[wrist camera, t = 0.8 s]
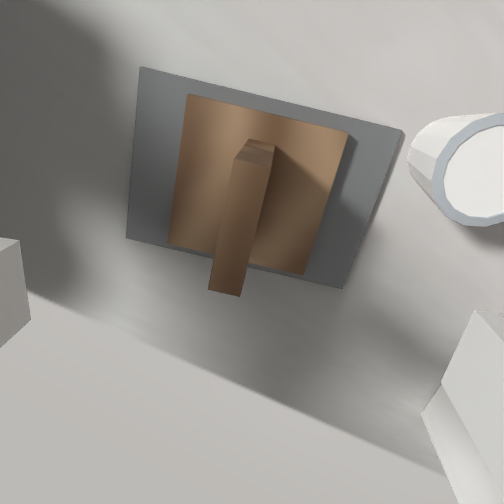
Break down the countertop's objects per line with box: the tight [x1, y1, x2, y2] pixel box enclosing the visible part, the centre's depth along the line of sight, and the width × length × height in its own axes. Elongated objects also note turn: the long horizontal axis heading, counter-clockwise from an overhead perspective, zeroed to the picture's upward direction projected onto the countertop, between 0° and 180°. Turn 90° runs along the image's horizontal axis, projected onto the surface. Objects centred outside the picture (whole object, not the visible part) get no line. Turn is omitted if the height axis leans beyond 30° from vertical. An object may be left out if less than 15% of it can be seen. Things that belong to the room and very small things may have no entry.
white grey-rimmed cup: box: [407, 113, 504, 227], centre depth 25 cm, size 7×7×7 cm
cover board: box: [167, 94, 349, 297], centre depth 25 cm, size 12×12×10 cm
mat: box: [126, 67, 402, 289], centre depth 30 cm, size 20×14×1 cm
